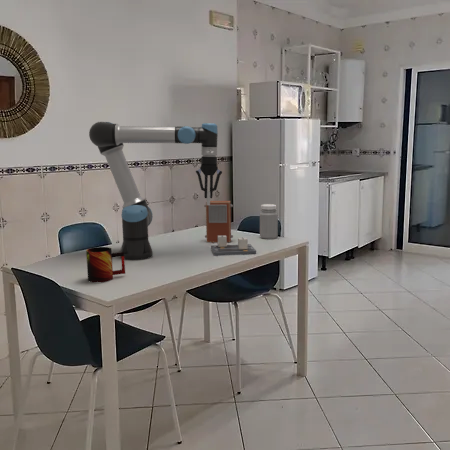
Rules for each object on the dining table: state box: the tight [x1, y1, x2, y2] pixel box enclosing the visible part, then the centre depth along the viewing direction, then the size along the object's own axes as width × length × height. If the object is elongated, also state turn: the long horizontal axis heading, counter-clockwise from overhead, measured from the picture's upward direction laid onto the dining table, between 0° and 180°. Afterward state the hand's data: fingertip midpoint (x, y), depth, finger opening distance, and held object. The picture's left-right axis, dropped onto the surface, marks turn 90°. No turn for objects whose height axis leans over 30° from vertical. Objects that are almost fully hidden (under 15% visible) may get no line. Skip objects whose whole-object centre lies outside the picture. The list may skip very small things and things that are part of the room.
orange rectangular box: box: [204, 200, 234, 243], centre depth 274 cm, size 21×7×15 cm
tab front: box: [237, 237, 249, 250], centre depth 248 cm, size 4×4×5 cm
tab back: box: [217, 235, 228, 247], centre depth 254 cm, size 4×4×5 cm
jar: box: [259, 203, 279, 240], centre depth 283 cm, size 10×10×18 cm
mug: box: [85, 246, 126, 283], centre depth 206 cm, size 10×14×12 cm
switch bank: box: [210, 243, 257, 257], centre depth 252 cm, size 20×16×2 cm
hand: (208, 204), depth 253 cm, fingers closed
